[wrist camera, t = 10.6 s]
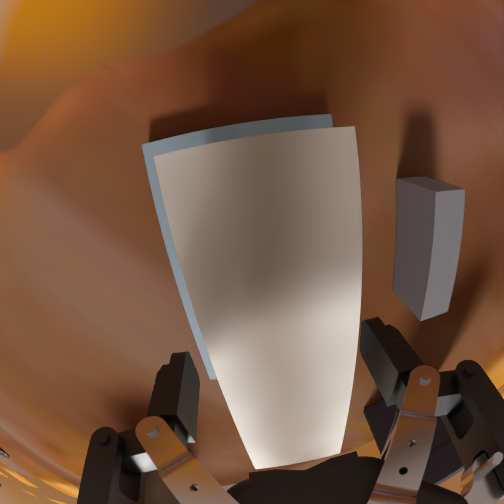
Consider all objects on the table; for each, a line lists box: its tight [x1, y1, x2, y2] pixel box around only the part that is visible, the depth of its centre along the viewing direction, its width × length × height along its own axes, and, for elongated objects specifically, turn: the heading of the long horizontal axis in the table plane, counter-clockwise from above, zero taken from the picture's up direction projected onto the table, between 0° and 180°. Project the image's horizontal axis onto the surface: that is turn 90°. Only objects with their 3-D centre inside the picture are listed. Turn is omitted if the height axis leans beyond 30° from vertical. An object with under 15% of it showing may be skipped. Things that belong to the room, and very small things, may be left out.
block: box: [392, 176, 465, 321], centre depth 19 cm, size 3×10×5 cm, turn 9°
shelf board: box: [154, 127, 362, 469], centre depth 12 cm, size 6×18×3 cm, turn 9°
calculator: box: [364, 399, 464, 485], centre depth 23 cm, size 11×4×15 cm, turn 119°
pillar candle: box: [145, 469, 181, 504], centre depth 26 cm, size 10×10×15 cm
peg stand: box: [142, 114, 333, 379], centre depth 17 cm, size 12×20×8 cm, turn 9°
